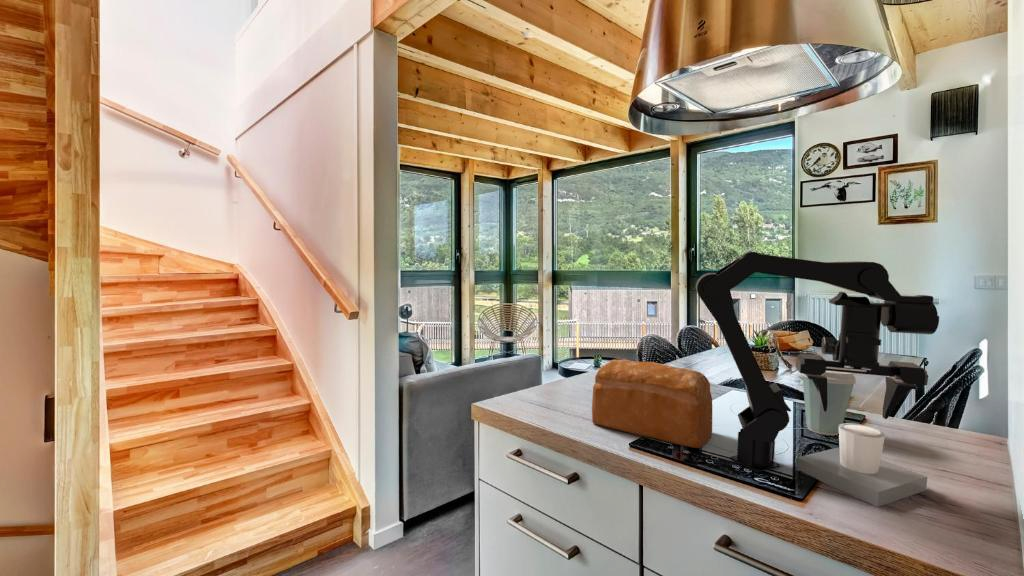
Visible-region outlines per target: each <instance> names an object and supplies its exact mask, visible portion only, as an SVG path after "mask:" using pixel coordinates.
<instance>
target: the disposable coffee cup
mask: <svg viewBox="0 0 1024 576" xmlns="http://www.w3.org/2000/svg"><path fill="white" fill-rule="evenodd" d="M824 375H825V376H826V377H827V399H828V405H827V411H826V412H824V411H823V409H822V406H821V402H820V399H819V396H818V392H817V389H816V387H815V384H814V382H813V380H812V379H809V378H807V376H806V375H805V374H802V373H801V376H802V385H803V386H802V388H803V398H804V399H803V400H804V401H803V402H804V411H805V412H804V414H805V424H806V426H807V429H808V430H809V431H810V432H812V433H815V434H818V435H822V436H823V435H824V436H830V435H831V436H830V437H833V436H835V435H836V436H839V435H838V434H839V427H838V426H839V425H840V424H843V423H844V421H845V418H846V414H847V412H848V411H847V410H848V407H849V402H850V400H851V397H852V396H851V395H852V392H853V388H854V386H855V384H856V380H857V379H856V377H855V375H854V373H847V372H836V371H826V372H825V373H824Z"/></svg>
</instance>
